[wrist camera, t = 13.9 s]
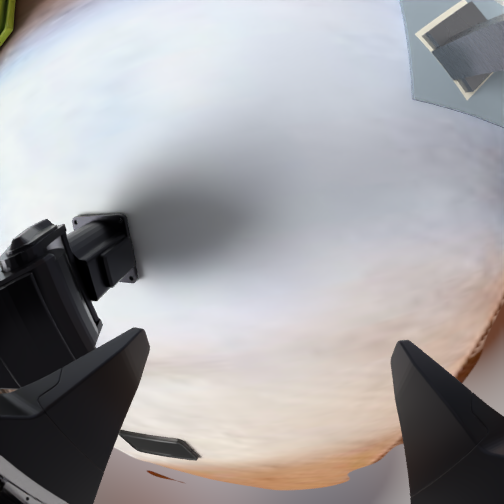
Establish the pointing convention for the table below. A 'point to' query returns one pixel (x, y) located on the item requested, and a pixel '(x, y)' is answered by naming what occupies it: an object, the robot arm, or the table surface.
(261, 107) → the table surface
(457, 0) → the mat
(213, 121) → the table surface
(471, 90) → the bracket
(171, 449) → the phone
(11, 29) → the flower pot
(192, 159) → the table surface
